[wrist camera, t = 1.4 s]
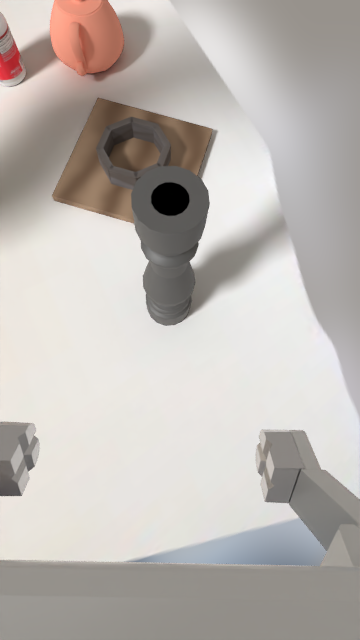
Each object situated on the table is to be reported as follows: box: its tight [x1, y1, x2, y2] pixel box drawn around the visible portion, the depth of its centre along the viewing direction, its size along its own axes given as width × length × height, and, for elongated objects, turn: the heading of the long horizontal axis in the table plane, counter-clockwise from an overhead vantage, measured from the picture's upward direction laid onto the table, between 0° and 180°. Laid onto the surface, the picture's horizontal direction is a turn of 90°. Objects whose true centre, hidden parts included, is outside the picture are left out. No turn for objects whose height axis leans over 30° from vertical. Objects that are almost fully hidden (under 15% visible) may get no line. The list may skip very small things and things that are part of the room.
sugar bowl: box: [50, 0, 124, 76], centre depth 55 cm, size 12×14×10 cm
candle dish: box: [52, 98, 212, 223], centre depth 52 cm, size 20×20×4 cm
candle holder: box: [131, 166, 209, 326], centre depth 36 cm, size 6×6×25 cm
